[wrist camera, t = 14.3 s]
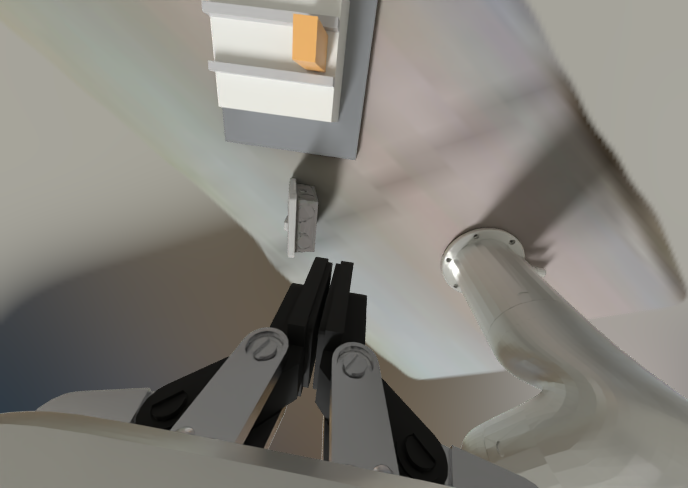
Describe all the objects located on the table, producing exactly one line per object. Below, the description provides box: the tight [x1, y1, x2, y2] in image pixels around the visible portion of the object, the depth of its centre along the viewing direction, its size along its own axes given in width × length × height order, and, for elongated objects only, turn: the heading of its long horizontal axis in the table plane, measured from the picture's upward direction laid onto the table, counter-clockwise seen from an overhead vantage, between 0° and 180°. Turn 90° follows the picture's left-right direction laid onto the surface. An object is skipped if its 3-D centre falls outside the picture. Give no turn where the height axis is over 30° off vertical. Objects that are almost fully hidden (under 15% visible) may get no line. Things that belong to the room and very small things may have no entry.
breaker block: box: [201, 0, 378, 160], centre depth 28 cm, size 19×21×9 cm
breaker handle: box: [292, 14, 328, 72], centre depth 22 cm, size 2×3×5 cm, turn 173°
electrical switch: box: [284, 178, 318, 257], centre depth 37 cm, size 9×5×9 cm, turn 173°
